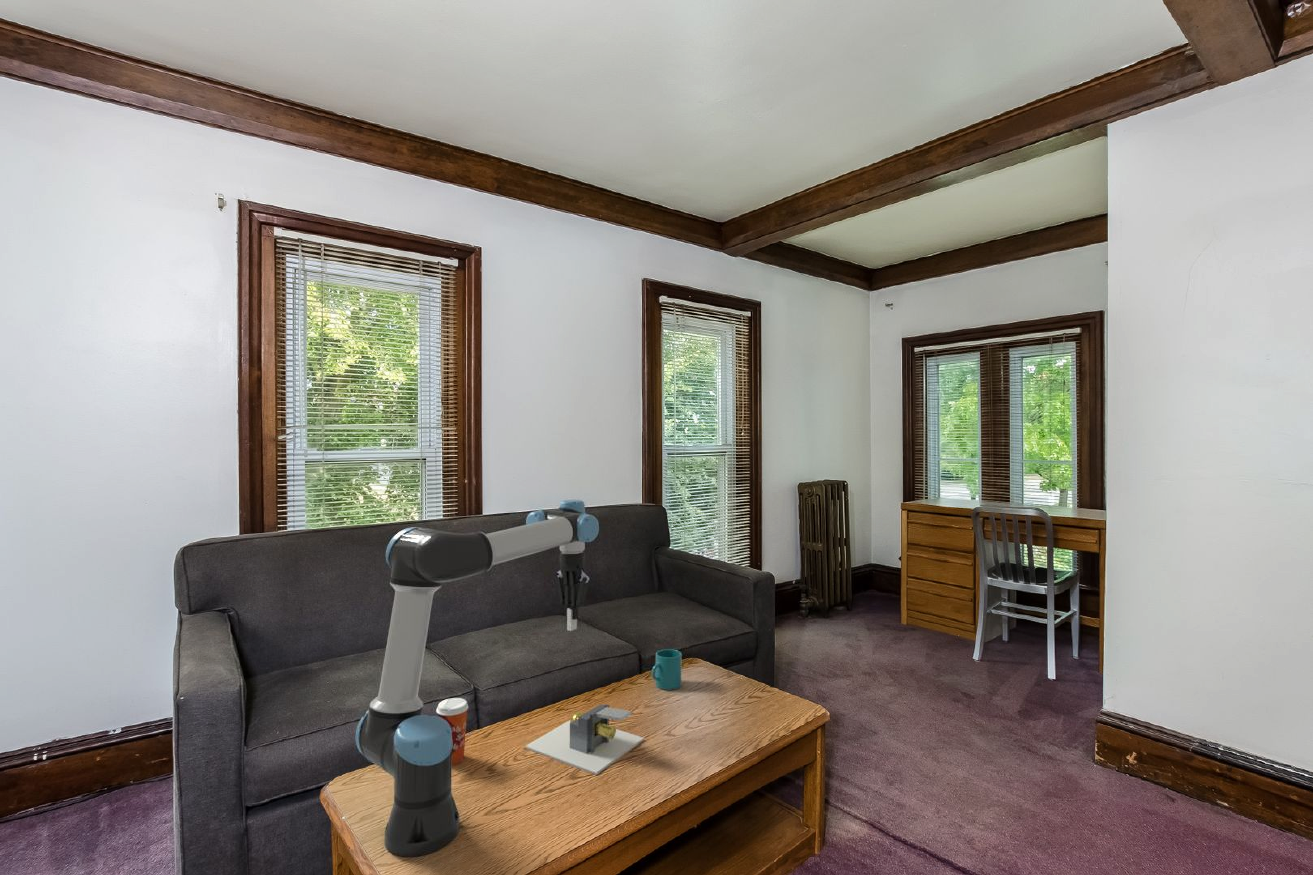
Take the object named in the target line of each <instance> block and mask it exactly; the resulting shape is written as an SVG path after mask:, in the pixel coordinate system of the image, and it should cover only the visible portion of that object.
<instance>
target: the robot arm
mask: <svg viewBox="0 0 1313 875" xmlns="http://www.w3.org/2000/svg"><path fill="white" fill-rule="evenodd" d="M525 520H526V521H525V524H524V525H520V526H515V527H511V528H507V529H503V530H498V531H493V532H489V533H484V532H482V531H476V532H470V533H457V532H449V531H443V530H437V529H434V528H428V527H424V526H417V527H416V526H415V527H414V526H411V527H407V528H405V529H402V530H400V531H399V532H397V534H395V535H394V536H393V537H392V538H391V540H390V541H389V543H388V544H387V546H386V550H385V561H386V564H387V565H388V567H389V568H390V570H391V574H390V579H389V580H390V581H389V584H390V586H391V587H392V588H393V590H394V599H393V604H392V610H391V618H390V623H389V628H388V635H387V642H386V646H385V653H384V659H383V664H382V673H381V677H380V678H381V679H380V682H379V683H380V684H379V690H378V694H377V696H376V697H375V698H374V699H373V700H372V701H370V703H369V708H368V710H367V711H366V712H365V714H364V716H362V717H361V719H360V720H359V722H358V724H357V727H356V731H355V744H356V747H357V749H358V751H359V753H361V755H362V756H363V758H364V759H366V760H368V762H369V763H372V764H373V765H376V766H377V767H379V768H380V769H381V770H383V771H384V772H386V773H387V774H389V775H390V776H392V777H393V781H394V782H393V786H394V788H393V789H394V790H393V805H392V808H391V812H390V814H389V818H388V822H387V824H386V827H385V829H384V845H385V848H386V849H387V850H388V851H389V852H390V853H391V854H393V855H397V856H402V857H418V856H423V855H427V854H431V853H433V852H436V851H438V850H440V849H442V848H444V847H445V846H447V845H448V844H449V843H451V842H452V841H453V840H454V839H455V837H456V836H457V835H458V833H459V830H460V814H459V810H458V808H457V805H456V802H455V800H454V796H453V792H452V768H453V765H452V746H453V740H452V733H451V727H450V725H449V724H448V722H447V721H445V720H444V719H442V718H441V717H438V715H430V716H429V714H423V708H424V703H423V700H421V698H420V697H419V689H420V684H421V676H422V670H423V663H424V658H425V657H424V656H425V649H426V644H427V637H428V631H429V625H430V618H431V610H432V606H433V598H434V594H435V593H436V591H438V590H439V589H441V588H442V584H443V583H447V582H449V583H450V582H453V581H457V580H462V579H466V578H469V577H472V576H476V575H479V574H482V573H485V572H488V571H490V570H491V569H492V567H493V566H494V565H498V564H501V563H506V562H508V561H511V560H512V561H513V560H515V559H518V558H521V557H522V558H523V557H526V556H529V555H534V554H537V553H540V552H543V551H544V552H545V551H547V550H550V549H554V548H558V547H559V551H560V553H559V565H560V567H559V571H556V572H554V573H553V576H554V578H555V580H556V584H557V585H556V586H557V592H558V597H559V603H560V605H562V606H564V608H565V618H566V619H567V620H566V621H567V622H566V630H567V631H570V632H572V631H574V630H577V629H578V628H577V627H578V619H579V609H580V608H582V607H584V606H585V602H586V598H587V597H586V596H587V591H588V586H589V583H590V581H591V579H592V578H591V576H590V575H587V574H586V573H585V569H584V564H585V562H586V561H585V560H586V559H585V558H586V556H585V554H586V552H585V549H586V547H585V546H586V544H585V543H591V542H593V541H595V539H596V538H597V536H598V534H599V531H600V525H599V524H600V523H599V520H598V519H597V518H596V517H595V516H594V515H592V514H588V513H586V506H585V502H584V501H583V500H581V499H564V500H561V501H560V503H559V506H558V508H554V509H553V508H552V509H542V510H541V509H539V510H535V511H531V512H530V513H528V515H527V517H526V518H525Z"/></svg>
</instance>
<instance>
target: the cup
mask: <svg viewBox="0 0 1313 875" xmlns="http://www.w3.org/2000/svg"><path fill="white" fill-rule="evenodd" d="M682 660H683V658H682V652H681V651H679V650H676V649H669V648H668V649H667V648H665V649H661V650H658V651H657V652H655V664H654V665H653V666H652V669H651V678H652V679H653V680H654V681H655V686H656V687H657V688H659V689H660V690H664V689H667V690H666V691H671V690H670V689H674V690H677V689H680V687H681V686H682Z"/></svg>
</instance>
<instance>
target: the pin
mask: <svg viewBox="0 0 1313 875" xmlns="http://www.w3.org/2000/svg"><path fill="white" fill-rule="evenodd" d="M585 713H586V712H582V711H578V710H577V711H575V712H574V713H573V714H572V715H571V718H570V720H571V721H570V723H571V722H573V721H575V720H576V719H578V717H580V716H581V715H583V714H585ZM616 729H617V728H616V727H614V726H612V725H610V724H609V725H606V724H603V723H600V722H597V723H595V734H598V735H601V736H604V737H607V738H610V739H613V738H614V736H615V734H616Z"/></svg>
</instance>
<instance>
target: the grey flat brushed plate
mask: <svg viewBox="0 0 1313 875" xmlns="http://www.w3.org/2000/svg"><path fill="white" fill-rule="evenodd" d="M631 715H632V711H631V710H626V709H621V708H614V707H610V706H609V707H606V708H604V709H602V710H601V711H599V712H597V713H596V717H601V718H606V719H609V720H613V721H619V722H622V721H623V720H625V719H626V718H628V717H629V716H631Z"/></svg>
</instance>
